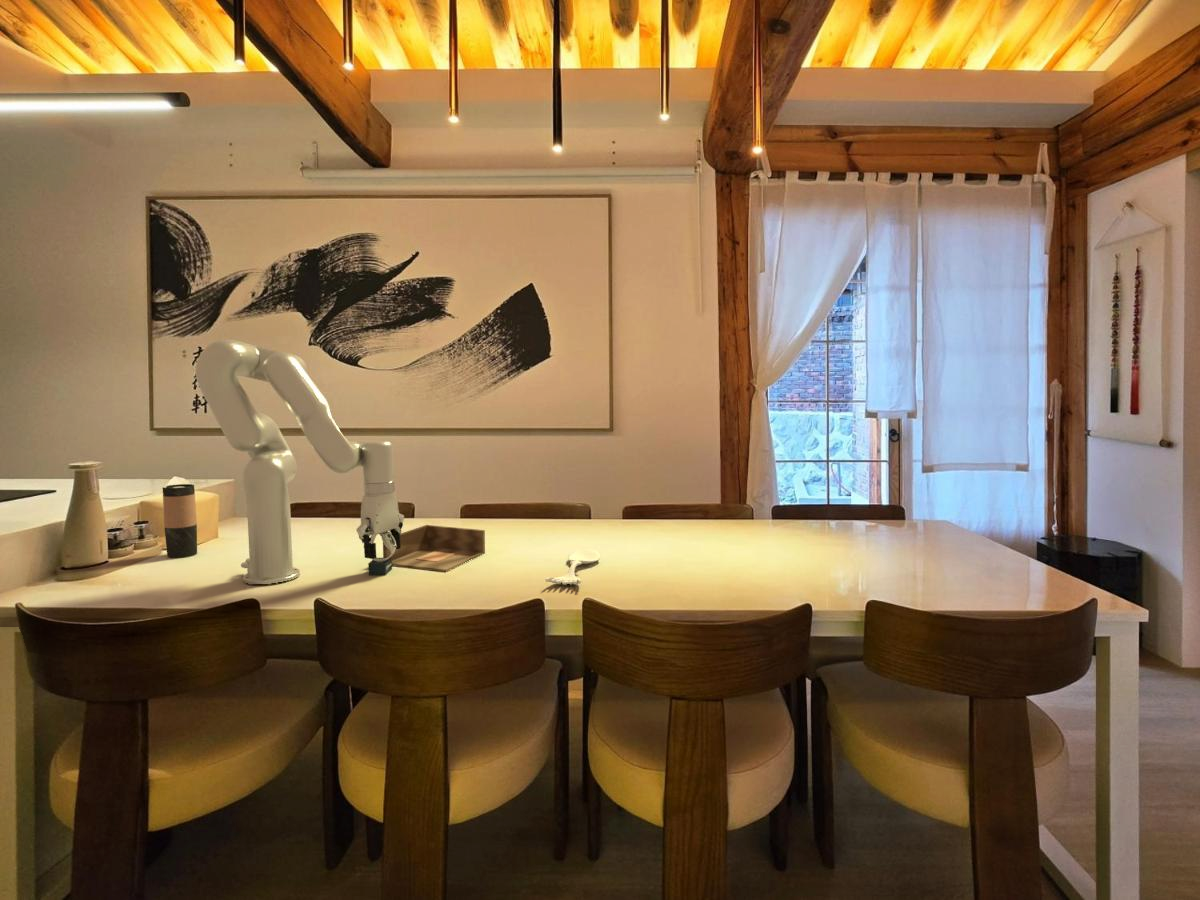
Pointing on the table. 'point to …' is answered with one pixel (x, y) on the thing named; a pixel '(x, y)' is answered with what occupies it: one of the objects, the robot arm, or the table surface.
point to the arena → (437, 547)
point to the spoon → (576, 559)
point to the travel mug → (180, 520)
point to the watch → (383, 564)
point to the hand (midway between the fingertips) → (383, 553)
